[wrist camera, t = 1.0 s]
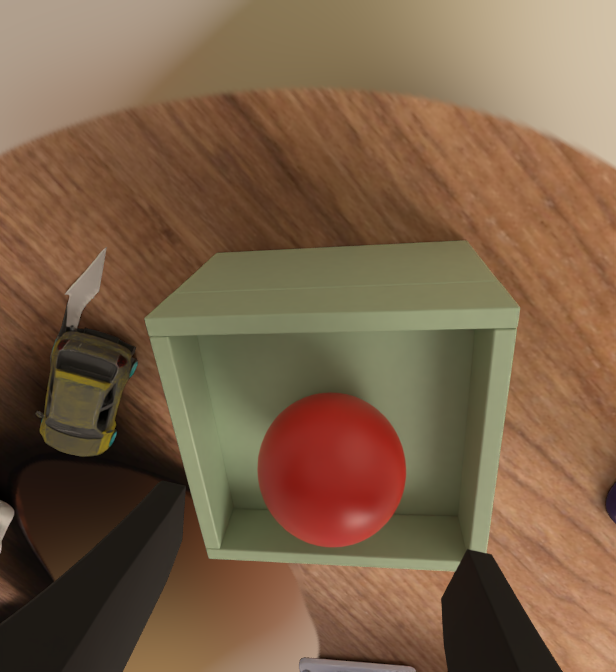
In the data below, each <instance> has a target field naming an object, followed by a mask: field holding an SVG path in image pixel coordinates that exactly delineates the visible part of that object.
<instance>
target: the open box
mask: <svg viewBox="0 0 616 672" xmlns="http://www.w3.org/2000/svg"><path fill="white" fill-rule="evenodd" d="M519 313H520V307H519V305H518V304H517V303H516V302H515V300H514V299H513V298H512V297H511V295H510V294H509V293H508V292H507V290H506V289H505V288H504V286H503V285H502V284H501V283H500V282H499V281H498V280H497V278H496V277H495V276H494V275H493V273H492V272H491V271H490V270H489V268H488V267H487V266H486V264H485V263H484V262H483V261H482V259H481V258H480V257H479V256H478V254H477V253H476V252H475V250H474V249H473V248H472V247H471V245H470V244H469V243H468V241H466V240H461V241H441V242H422V243H402V244H382V245H362V246H343V247H323V248H303V249H283V250H264V251H244V252H224V253H216V254H215V255H214V256H212V257H211V258H210V259H209V260H208V261H207V262H206V263H205V264H204V265H203V266H202V267H200V268H199V269H198V270H197V271H196V272H195V273H194V274H193V275H192V276H191V277H190V278H188V279H187V280H186V281H185V282H184V283H183V284H182V285H181V286H180V287H179V288H178V289H176V290H175V291H174V292H173V294H170V295H169V296H168V297H167V298H166V299H165V300H164V301H163V302H162V303H160V304H159V305H158V306H157V307H156V308H155V309H154V310H153V311H152V312H151V313H150V314H148V315H147V316H146V317H145V319H144V320H145V324H146V327H147V331H148V335H149V336H150V341H151V345H152V349H153V353H154V356H155V360H156V364H157V368H158V371H159V375H160V379H161V383H162V386H163V390H164V394H165V398H166V401H167V405H168V409H169V412H170V416H171V420H172V424H173V427H174V431H175V435H176V439H177V442H178V446H179V450H180V454H181V457H182V461H183V465H184V469H185V472H186V476H187V480H188V483H189V487H190V491H191V495H192V498H193V502H194V506H195V509H196V513H197V517H198V521H199V524H200V528H201V532H202V535H203V540H204V543H205V547H206V550H207V554H208V558H210V559H227V560H246V561H266V562H284V563H303V564H322V565H341V566H360V567H379V568H398V569H416V570H435V571H454V572H455V571H456V569H457V567H458V566H459V564H460V562H461V560H462V558H463V556H464V554H465V552H466V550H467V549H470V550H474V551H479V552H483V553H487V546H488V538H489V531H490V523H491V516H492V509H493V501H494V494H495V487H496V479H497V472H498V465H499V457H500V450H501V443H502V435H503V428H504V421H505V413H506V406H507V398H508V391H509V384H510V376H511V369H512V362H513V354H514V347H515V340H516V332H517V329H516V328H517V327H518V320H519ZM328 392H332V393H342V394H348V395H351V396H355V397H357V398H360V399H362V400H364V401H366V402H368V403H369V404H371V405H372V406H374V407H375V408H376V409H377V410H379V411H380V412H381V413H382V414H383V415H384V416H385V417H386V418H387V419H388V421H389V422H390V423H391V425H392V426H393V428H394V429H395V431H396V433H397V435H398V437H399V439H400V442H401V444H402V447H403V451H404V455H405V460H406V481H405V487H404V491H403V495H402V498H401V500H400V503H399V505H398V507H397V509H396V511H395V512H394V514H393V515H392V517H391V518H390V520H389V521H388V522H387V523H386V524H385V525H384V526H383V527H382V528H381V529H380V530H379V531H378V532H376V533H375V534H374V535H372V536H371V537H369V538H367V539H365V540H364V541H361V542H359V543H356V544H353V545H349V546H344V547H321V546H316V545H313V544H310V543H307V542H304V541H302V540H300V539H298V538H297V537H295V536H293V535H292V534H290V533H289V532H288V531H286V530H285V529H284V528H283V527H282V526H281V525H280V524H279V523H278V522H277V521H276V520H275V518H274V517H273V516H272V514H271V513H270V511H269V509H268V508H267V506H266V504H265V502H264V499H263V497H262V494H261V491H260V487H259V482H258V473H257V467H258V455H259V451H260V447H261V443H262V441H263V438H264V436H265V434H266V432H267V430H268V428H269V427H270V425H271V424H272V422H273V421H274V419H275V418H276V417H277V416H278V415H279V414H280V413H281V412H282V411H283V410H284V409H286V408H287V407H288V406H289V405H291V404H293V403H294V402H296V401H298V400H300V399H302V398H304V397H307V396H310V395H313V394H318V393H328Z"/></svg>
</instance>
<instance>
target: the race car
mask: <svg viewBox="0 0 616 672" xmlns="http://www.w3.org/2000/svg"><path fill="white" fill-rule="evenodd" d="M135 349H136V347H135V346H132V345H129V344H127V343H125V342H123V341H121V340H119V338H117V337H115V336H112V335H109V334H106V333H103V332H99V331H96V330H92V329H87V328H85V329H78V328H75V327H74V325H71V326H70V327H68V326H66V330H65V333H64V334H63V335H62V336H61V337H58V338H57V339H56V341H55V343H54V347H53V351H52V365H51V371H50V376H49V381H48V388H47V395H46V402H45V410H44V414H43V413H41V412H40V411H37V412H36V415H37V416H38V417H40V418H43V419H42V422H41V426H40V433H41V434H42V436H43V438H44V441H45V443H46V444H48V445H50V446H51V447H53V448H55V449H57V450H58V451H61V452H64V453H68V454H72V455H77V456H96V455H100V454H102V453H103V452H104V451H106V450H107V449H108V448H109V447H110V446H111V444H112V443H113V441H114V439H115V437H116V434H117V430H116V429H115V426H116V422H115V416H116V413H117V409H118V405H119V402H120V399H121V395H122V392H123V389H124V387H125V385H126V383H127V381H128V379H129V378H130V377H131V376H132V375H133V373H134V372H135V370H136V367H137V364H138V360H137V359H135V358H132V355H133V354H134V353H135Z"/></svg>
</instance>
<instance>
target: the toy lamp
mask: <svg viewBox="0 0 616 672" xmlns="http://www.w3.org/2000/svg"><path fill="white" fill-rule="evenodd" d="M606 509H607V512H608V514H609V516H610V518H611V519H612V520H613V521H614V523H615V524H616V483H615V484H614V486H613V487H612V488H611V490H610V491H609V493H608V495H607V499H606Z"/></svg>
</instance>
